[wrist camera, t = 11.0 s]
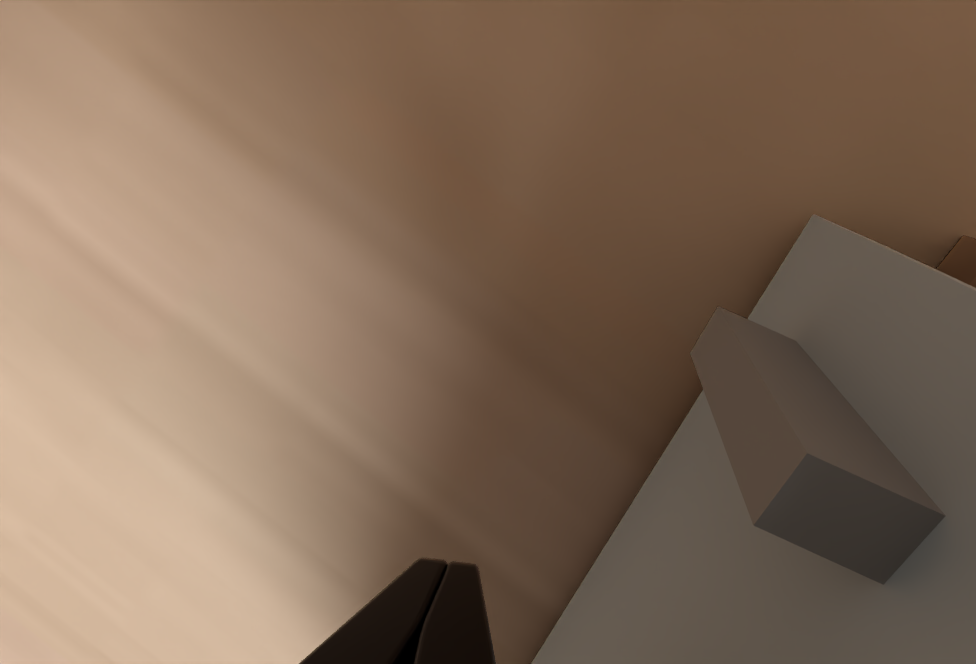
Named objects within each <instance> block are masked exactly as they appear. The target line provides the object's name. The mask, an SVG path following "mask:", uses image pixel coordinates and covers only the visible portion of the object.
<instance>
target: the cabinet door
mask: <svg viewBox="0 0 976 664" xmlns="http://www.w3.org/2000/svg"><path fill="white" fill-rule="evenodd" d="M690 355H691V358H692V360H693V363H694V366H695V369H696V371H697V374H698V377H699V379H700V382H701V385H702V388H703V390H702V392H701V393H700V395H699V397H698V398H697V400H696V401H695V403H694V405H693V406H692V408H691V409H690V411H689V413H688V414H687V416H686V417H685V419H684V421H683V422H682V424H681V425H680V427H679V429H678V430H677V432H676V433H675V435H674V436H673V438H672V440H671V441H670V443H669V444H668V446H667V448H666V449H665V451H664V452H663V454H662V456H661V457H660V459H659V460H658V462H657V464H656V465H655V467H654V468H653V470H652V472H651V473H650V475H649V476H648V478H647V480H646V481H645V483H644V484H643V486H642V487H641V489H640V491H639V492H638V494H637V495H636V497H635V499H634V500H633V502H632V503H631V505H630V507H629V508H628V510H627V511H626V513H625V515H624V516H623V518H622V519H621V521H620V523H619V524H618V526H617V527H616V529H615V531H614V532H613V534H612V535H611V537H610V538H609V540H608V542H607V543H606V545H605V546H604V548H603V550H602V551H601V553H600V554H599V556H598V558H597V559H596V561H595V562H594V564H593V566H592V567H591V569H590V570H589V572H588V574H587V575H586V577H585V578H584V580H583V582H582V583H581V585H580V586H579V588H578V590H577V591H576V593H575V594H574V596H573V597H572V599H571V601H570V602H569V604H568V605H567V607H566V609H565V610H564V612H563V613H562V615H561V617H560V618H559V620H558V621H557V623H556V625H555V626H554V628H553V629H552V631H551V633H550V634H549V636H548V637H547V639H546V641H545V642H544V644H543V645H542V647H541V648H540V650H539V652H538V653H537V655H536V656H535V658H534V660H533V661H532V663H531V664H976V288H975V287H973V286H971V285H968V284H966V283H964V282H962V281H960V280H958V279H956V278H953V277H951V276H949V275H947V274H945V273H943V272H941V271H938V270H936V269H934V268H932V267H930V266H928V265H926V264H923V263H921V262H919V261H917V260H915V259H913V258H911V257H908V256H906V255H904V254H902V253H900V252H898V251H895V250H893V249H891V248H889V247H887V246H885V245H883V244H880V243H878V242H876V241H874V240H871V239H869V238H867V237H865V236H862V235H860V234H858V233H856V232H853V231H851V230H849V229H846V228H844V227H842V226H840V225H837V224H835V223H833V222H831V221H828V220H826V219H824V218H822V217H819V216H817V215H815V214H813V215H812V217H811V218H810V220H809V221H808V223H807V225H806V226H805V228H804V229H803V231H802V232H801V234H800V236H799V237H798V239H797V240H796V242H795V244H794V245H793V247H792V248H791V250H790V252H789V253H788V255H787V256H786V258H785V260H784V261H783V263H782V264H781V266H780V268H779V269H778V271H777V272H776V274H775V276H774V277H773V279H772V280H771V282H770V283H769V285H768V287H767V288H766V290H765V291H764V293H763V295H762V296H761V298H760V299H759V301H758V303H757V304H756V306H755V307H754V309H753V311H752V312H751V314H750V315H749V317H748V319H746V318H744V317H741V316H739V315H737V314H735V313H733V312H730V311H728V310H726V309H724V308H721V307H719V306H718V307H717V309H716V310H715V312H714V314H713V315H712V317H711V319H710V320H709V322H708V324H707V325H706V327H705V329H704V330H703V332H702V334H701V335H700V337H699V339H698V340H697V342H696V344H695V345H694V347H693V349H692V350H691V352H690Z"/></svg>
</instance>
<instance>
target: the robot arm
mask: <svg viewBox="0 0 976 664" xmlns="http://www.w3.org/2000/svg"><path fill="white" fill-rule="evenodd" d="M299 664H496V662H495V656H494V651H493V645H492V640H491V634H490V629H489V623H488V618H487V612H486V607H485V601H484V596H483V590H482V584H481V579H480V573H479V569H478V566H477V565H476V564H473V563H465V562H456V561H453V562H451V563H449V564H448V563H447V562H446V561H445V560H440V559H431V558H420V559H418V560H417V561H416V562H414V563H413V564H412V565H411V566H410V567H409V568H408V569H406V570H405V571H404V572H403V573H402V574H401V575H400V576H398V577H397V578H396V579H395V580H394V581H393V582H392V583H390V584H389V585H388V586H387V587H386V588H385V589H384V590H382V591H381V592H380V593H379V594H378V595H377V596H376V597H374V598H373V599H372V600H371V601H370V602H369V603H368V604H366V605H365V606H364V607H363V608H362V609H361V610H360V611H358V612H357V613H356V614H355V615H354V616H353V617H352V618H350V619H349V620H348V621H347V622H346V623H345V624H344V625H342V626H341V627H340V628H339V629H338V630H337V631H336V632H334V633H333V634H332V635H331V636H330V637H329V638H328V639H326V640H325V641H324V642H323V643H322V644H321V645H320V646H318V647H317V648H316V649H315V650H314V651H313V652H312V653H310V654H309V655H308V656H307V657H306V658H305V659H304V660H302V661H301V662H300V663H299Z"/></svg>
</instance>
